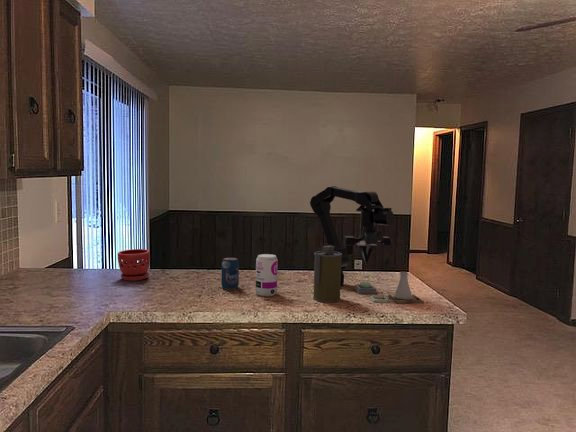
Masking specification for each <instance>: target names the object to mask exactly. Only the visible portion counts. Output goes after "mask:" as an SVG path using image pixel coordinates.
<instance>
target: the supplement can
mask: <svg viewBox="0 0 576 432" xmlns="http://www.w3.org/2000/svg"><path fill="white" fill-rule="evenodd" d="M278 261H279V260H278V257H277V255H276V254H270V253H262V254H258V255H257V257H256V259H255V262H256V263H255V294H257V296H261V297H272V296H275V295H276V294H277V293H278V267H279V266H278V264H279V262H278Z"/></svg>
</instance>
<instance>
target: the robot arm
mask: <svg viewBox="0 0 576 432" xmlns="http://www.w3.org/2000/svg"><path fill="white" fill-rule="evenodd" d="M335 198H340V199H346V200H349V201H353V202H355V203H356V204H357V205H359V207H358V208H356V209H355V210H356V212H360V223H359V228H360V229H359V230H360V231H359V236H358V237H354V236H353V235H344V236H343V237H342V244H343V245H345V246H347V245H348V246H353V245H355V244H356V246H357V247H359V249H360V251H361V254H362V257H363V260H364V262H365V263H368V262H369V259H370V257H371V255H372V252H373V250H374V249H375V248H378V244H383V245H384V246H392V244H393V241H392V238H391V237H389V236H385V235H384V232H383V231H377V228H376V227H377V226H376V225H380V226H389V227H390V226H392V225H393V224H394V222H395V216H394V212H393V211H392V209H393V208H392V207H384V206H383V204H382V202H381V201H380V199H379V196H378V193H377V192H375V191H358V190H352V189H347V188H344V187H339V186H336V185H332V186H330V185H329V186H327V187H326V188H325V189H323V190H322V191H320V192H318V193H317V194H315V195H314V196H312V197H311V199H310V201H309V205H310V208H311V209H312V211H313V213H314V214H315V215H316V216H317V217H318V220H319V223H320V225H321V229H322V231H323V234H324V235H323V236H324V238H325V240H326V244H327V246H329V245H330V246H335V248H334V252H340V253H342V257H341V286H342V287H344V284H345V274H344V270H346V269H347V266H348V264H349V262H350V254H349V253H348V249H347V247H342V246H341V243H340V241H339V238H338V234H337V232H336V229H335V226H334V223H333V220H332V217H331V203H332V202H333V201H335Z"/></svg>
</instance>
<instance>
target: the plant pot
mask: <svg viewBox="0 0 576 432" xmlns="http://www.w3.org/2000/svg"><path fill="white" fill-rule="evenodd" d="M150 258H151V254H150V250H149V249H146V248H145V249H144V248H143V249H142V248H140V249H139V248H137V249H136V248H134V249H124V250H120V251H117V263H118V267H119V270H120V272H121V274H120V278H121V279H122V280H124V281H128V282H129V281H132V282H135V281H141V280H144V279H147V278H148V277H149V276H150V272H149V271H148V270H149V267H150V263H151V262H150V260H151V259H150Z"/></svg>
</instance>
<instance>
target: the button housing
mask: <svg viewBox="0 0 576 432" xmlns="http://www.w3.org/2000/svg"><path fill="white" fill-rule="evenodd" d="M354 290H355V292H357V293H358V295H359V294H365V295H367V294H368V295H369V294H371V295H373V294H375V295H376V294H377V288H376V287H375V286H374V285H373V284H371V283H370V288H361V287H360V284H356V283H355V284H354Z"/></svg>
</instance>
